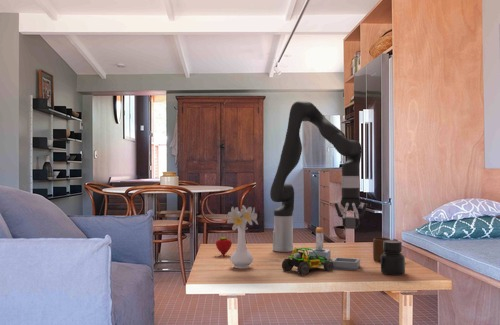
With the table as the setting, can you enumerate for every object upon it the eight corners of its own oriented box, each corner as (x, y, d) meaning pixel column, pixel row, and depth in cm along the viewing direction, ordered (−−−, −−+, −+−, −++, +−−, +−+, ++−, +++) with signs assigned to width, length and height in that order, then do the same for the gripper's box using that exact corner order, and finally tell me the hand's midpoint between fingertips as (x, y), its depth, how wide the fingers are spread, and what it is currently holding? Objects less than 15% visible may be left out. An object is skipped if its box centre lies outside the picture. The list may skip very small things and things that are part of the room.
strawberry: (232, 255, 214) (232, 234, 215) (216, 256, 214) (215, 234, 214) (231, 253, 220) (231, 232, 220) (215, 254, 219) (215, 233, 220)
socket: (308, 260, 202) (308, 251, 202) (312, 257, 209) (312, 248, 209) (326, 261, 199) (326, 252, 199) (330, 258, 206) (330, 249, 206)
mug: (395, 258, 206) (395, 237, 207) (404, 261, 199) (403, 239, 199) (370, 259, 204) (370, 237, 204) (377, 262, 197) (377, 240, 197)
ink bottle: (405, 271, 179) (404, 240, 179) (407, 276, 170) (407, 243, 171) (379, 270, 181) (378, 239, 181) (380, 275, 173) (379, 243, 173)
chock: (345, 228, 194) (345, 217, 194) (346, 227, 199) (346, 216, 199) (355, 228, 192) (355, 218, 192) (356, 227, 198) (356, 216, 198)
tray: (331, 268, 185) (331, 261, 185) (335, 264, 193) (335, 257, 193) (357, 270, 181) (356, 262, 181) (359, 266, 189) (359, 258, 190)
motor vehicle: (334, 271, 182) (333, 244, 182) (296, 277, 171) (296, 249, 171) (314, 266, 191) (313, 240, 192) (277, 272, 180) (277, 245, 181)
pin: (315, 260, 203) (315, 228, 203) (316, 258, 206) (316, 227, 206) (322, 260, 202) (322, 228, 202) (324, 259, 205) (323, 227, 205)
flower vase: (226, 272, 178) (225, 208, 179) (227, 263, 197) (226, 204, 197) (259, 272, 179) (259, 207, 179) (257, 263, 197) (257, 204, 198)
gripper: (332, 187, 195) (333, 227, 194) (367, 187, 191) (367, 228, 190) (334, 186, 202) (335, 225, 201) (368, 186, 198) (368, 226, 197)
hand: (351, 227), depth 196 cm, fingers closed on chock, 4 cm apart
